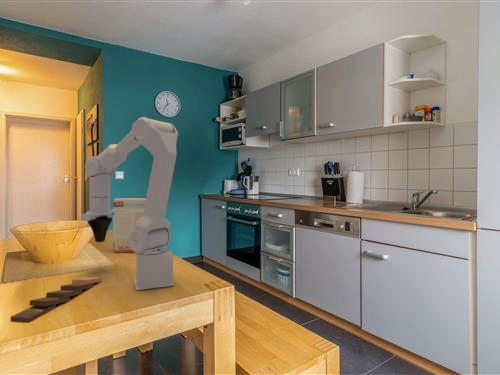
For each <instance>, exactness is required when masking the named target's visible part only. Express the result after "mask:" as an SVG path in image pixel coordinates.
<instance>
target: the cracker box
mask: <svg viewBox="0 0 500 375" xmlns="http://www.w3.org/2000/svg"><path fill="white" fill-rule="evenodd" d="M112 200H113V201H112V202H113V203H112V204H113V206H112V209H116V215H114V216H113V215H112V223H113V224H112V229H113V230H112V233H113V234H112V246H113V248H112V251H113V252H112V253H132V254H133V253H134V251H133V250H132V248H131V246H130V243H129V237H130V234H131V232H132V230H133V228H134V224H135V222H136V221H137V220H138V219H140V218H141V217H142V216H143V214H144V208H145V203H146V198H140V197H139V198H138V197H137V198H134V197H132V198H131V197H130V198H129V197H126V198H125V197H124V198H123V197H121V198H119V197H117V198H114V199H112ZM134 254H135V253H134Z"/></svg>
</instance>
